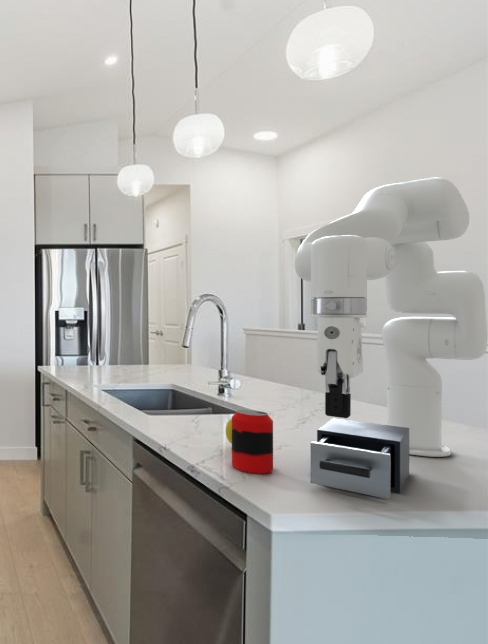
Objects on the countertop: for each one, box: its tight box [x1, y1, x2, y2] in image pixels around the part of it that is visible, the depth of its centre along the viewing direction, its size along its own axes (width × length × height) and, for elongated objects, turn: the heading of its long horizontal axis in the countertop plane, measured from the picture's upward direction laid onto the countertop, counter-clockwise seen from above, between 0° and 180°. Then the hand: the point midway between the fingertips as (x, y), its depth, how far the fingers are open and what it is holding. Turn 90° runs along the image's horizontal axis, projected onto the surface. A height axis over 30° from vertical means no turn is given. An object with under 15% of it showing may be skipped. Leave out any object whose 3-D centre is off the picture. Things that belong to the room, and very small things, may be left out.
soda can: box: [231, 409, 274, 475], centre depth 107 cm, size 8×8×12 cm
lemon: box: [225, 418, 232, 445], centre depth 122 cm, size 6×6×8 cm
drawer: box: [310, 435, 395, 500], centre depth 95 cm, size 18×11×8 cm, turn 132°
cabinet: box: [316, 417, 410, 494], centre depth 102 cm, size 15×13×10 cm
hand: (337, 416), depth 85 cm, fingers closed
